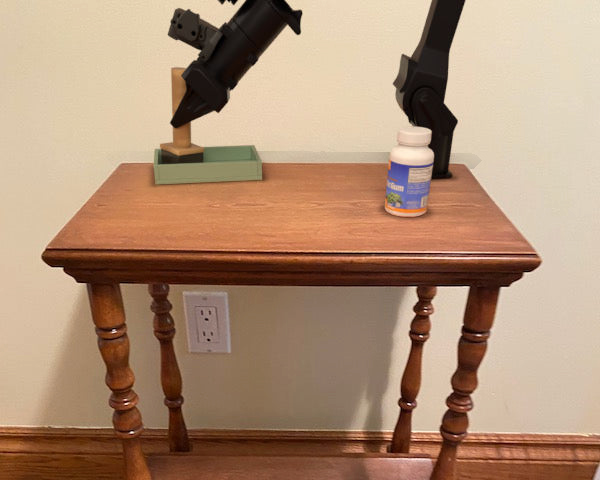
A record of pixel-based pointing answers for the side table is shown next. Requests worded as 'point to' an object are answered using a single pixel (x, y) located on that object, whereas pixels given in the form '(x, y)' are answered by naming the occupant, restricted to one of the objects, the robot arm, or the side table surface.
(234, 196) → the side table surface
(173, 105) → the scrub brush
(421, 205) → the pill bottle
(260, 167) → the tray
